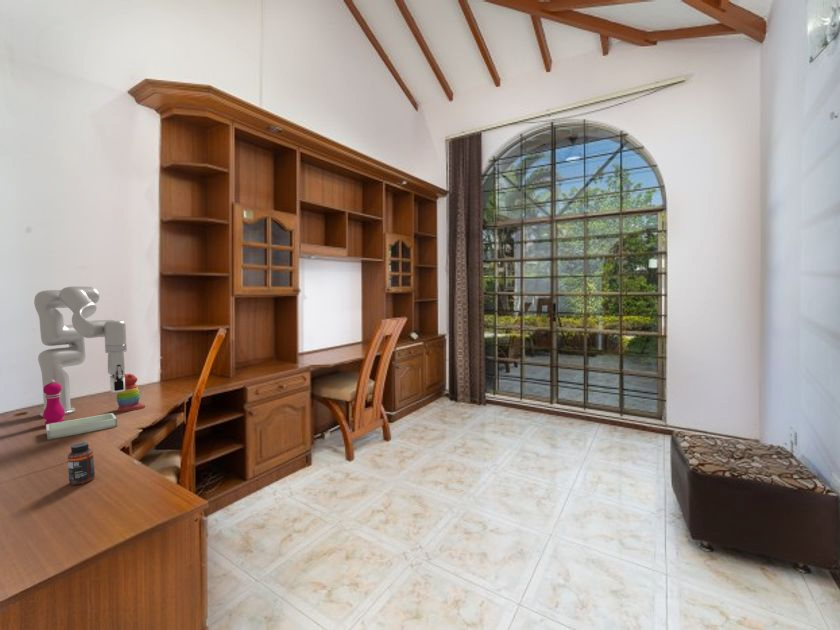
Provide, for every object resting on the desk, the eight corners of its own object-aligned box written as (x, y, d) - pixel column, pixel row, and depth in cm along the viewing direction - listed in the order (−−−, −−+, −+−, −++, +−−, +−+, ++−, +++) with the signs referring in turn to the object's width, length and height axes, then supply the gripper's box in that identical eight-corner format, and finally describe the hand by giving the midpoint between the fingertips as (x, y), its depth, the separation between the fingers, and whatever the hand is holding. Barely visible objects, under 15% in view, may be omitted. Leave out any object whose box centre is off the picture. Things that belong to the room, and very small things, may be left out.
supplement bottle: (92, 474, 124) (90, 439, 124) (97, 480, 121) (95, 443, 120) (67, 482, 120) (64, 445, 119) (71, 487, 116) (69, 449, 116)
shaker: (109, 391, 177) (109, 376, 177) (124, 389, 181) (123, 374, 181) (111, 393, 174) (111, 377, 174) (126, 391, 178) (125, 376, 177)
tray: (46, 432, 165) (46, 424, 165) (112, 420, 180) (112, 412, 180) (47, 439, 156) (47, 431, 156) (117, 426, 172) (116, 418, 172)
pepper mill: (52, 427, 172) (49, 381, 171) (39, 426, 174) (36, 381, 173) (69, 422, 179) (67, 378, 178) (57, 421, 181) (54, 377, 180)
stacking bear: (146, 407, 202) (145, 372, 201) (124, 412, 193) (122, 376, 192) (134, 405, 207) (133, 371, 206) (112, 410, 198) (110, 374, 197)
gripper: (102, 347, 180) (104, 387, 181) (108, 351, 168) (110, 393, 169) (122, 346, 185) (124, 384, 186) (130, 349, 173) (132, 390, 174)
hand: (117, 388), depth 177 cm, fingers closed on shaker, 5 cm apart
